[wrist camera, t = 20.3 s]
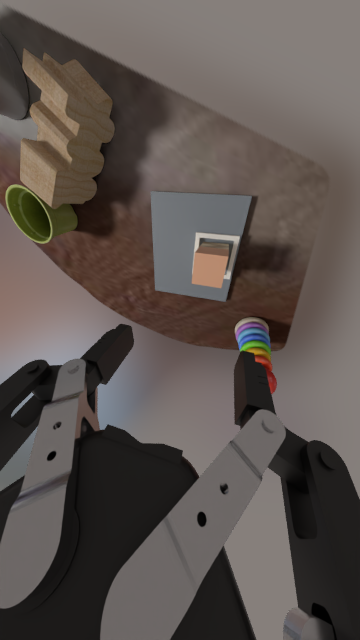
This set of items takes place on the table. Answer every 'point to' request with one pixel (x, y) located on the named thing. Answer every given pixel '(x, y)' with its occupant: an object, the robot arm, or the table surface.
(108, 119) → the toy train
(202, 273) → the terracotta block
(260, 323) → the stacking toy
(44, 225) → the plant pot
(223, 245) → the maple block
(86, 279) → the table surface
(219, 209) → the board
